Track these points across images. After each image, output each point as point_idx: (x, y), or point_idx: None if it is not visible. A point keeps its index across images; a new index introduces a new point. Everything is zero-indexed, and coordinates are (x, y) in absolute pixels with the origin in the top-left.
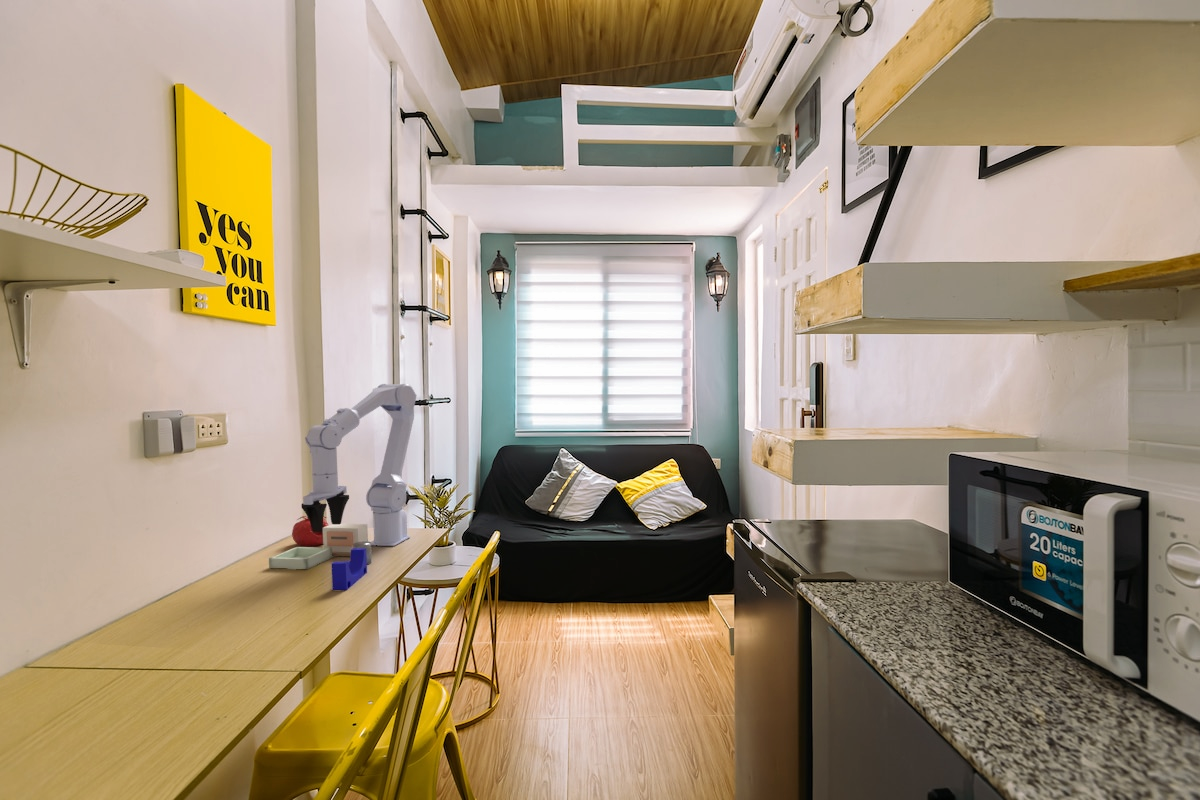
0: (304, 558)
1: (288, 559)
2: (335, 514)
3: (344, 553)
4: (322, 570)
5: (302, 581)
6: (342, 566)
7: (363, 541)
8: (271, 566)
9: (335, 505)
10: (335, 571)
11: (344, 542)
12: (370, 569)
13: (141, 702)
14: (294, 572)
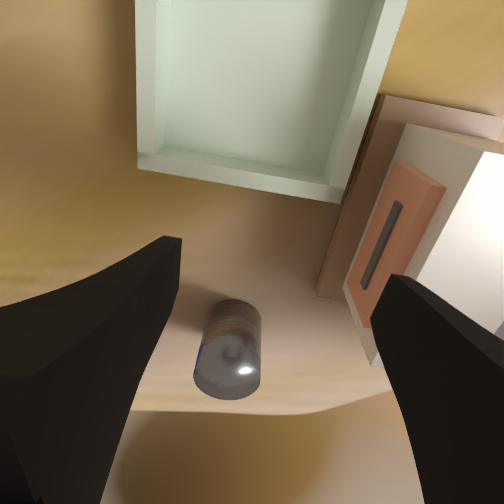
0: (151, 151)
1: (136, 54)
2: (414, 351)
3: (338, 240)
4: (154, 224)
5: (25, 209)
6: None
7: (259, 375)
8: None
9: (457, 437)
10: None
11: (362, 261)
12: (176, 354)
13: None
14: (115, 116)
